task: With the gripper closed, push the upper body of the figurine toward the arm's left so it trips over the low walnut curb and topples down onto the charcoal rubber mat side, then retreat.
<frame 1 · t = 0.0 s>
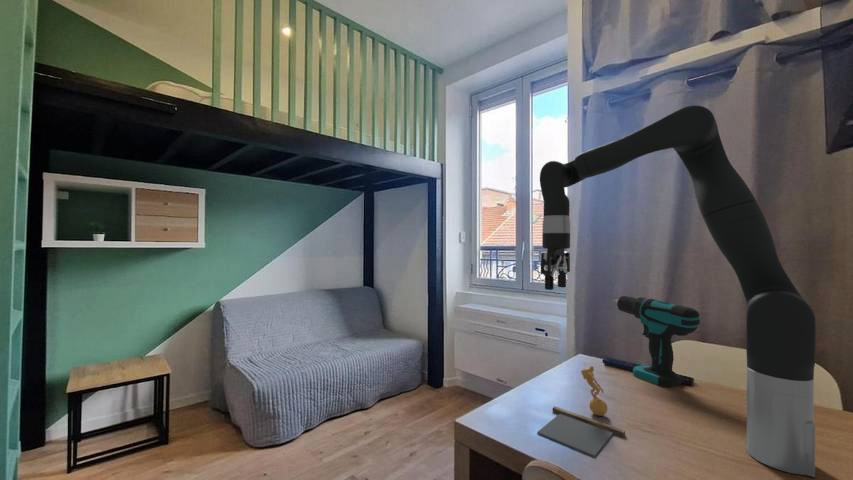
hand: (555, 288, 100), 29 cm above the table, fingers open, 8 cm apart
mat: (575, 433, 77), on the table
figurine: (594, 415, 85), on the table
power drill: (650, 377, 111), on the table
curb: (586, 422, 82), on the table
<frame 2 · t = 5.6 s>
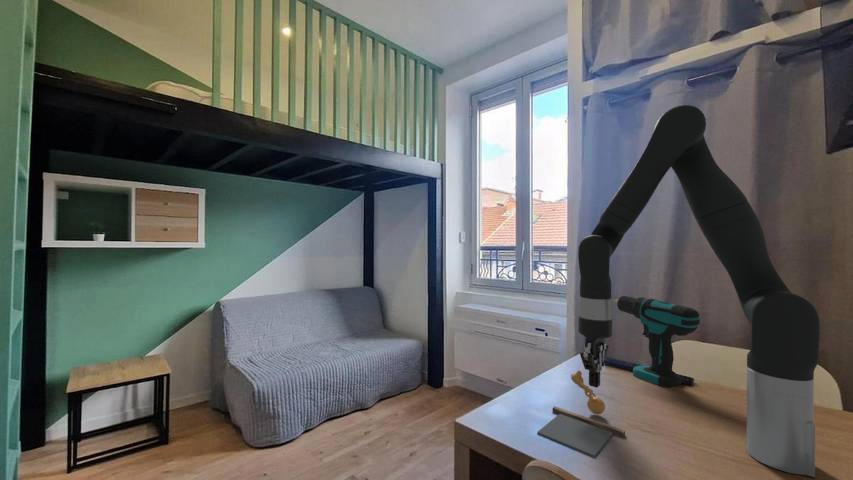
hand: (594, 385, 86), 7 cm above the table, fingers closed
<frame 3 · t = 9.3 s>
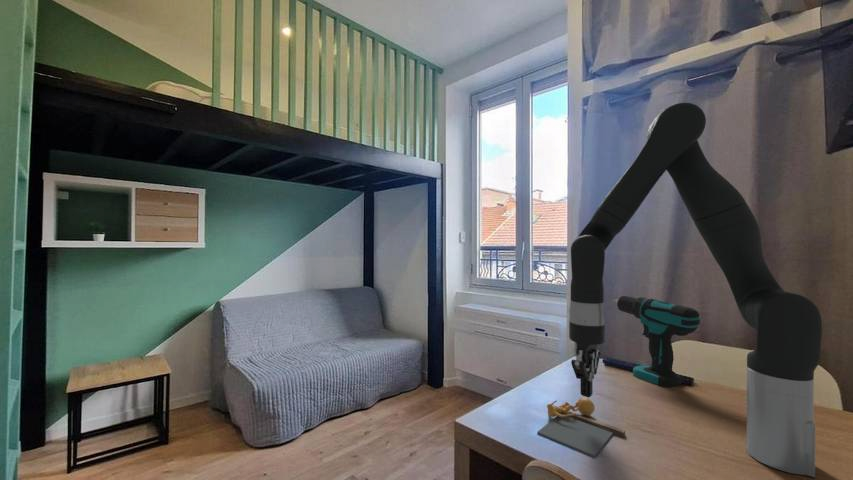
hand: (586, 395, 81), 7 cm above the table, fingers closed
figurine: (592, 412, 85), point 1 cm above the table, touching curb, mat
everything else where it was.
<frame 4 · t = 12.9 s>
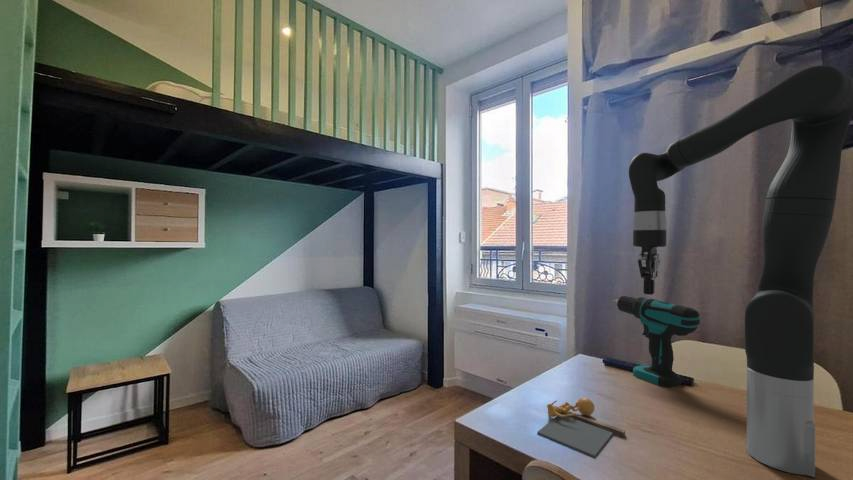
hand: (649, 294, 92), 29 cm above the table, fingers closed
nothing on the table moved.
at the end: figurine tilted 75°; figurine inside the target area (12.3 cm from its centre), point 0.6 cm above the table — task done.
